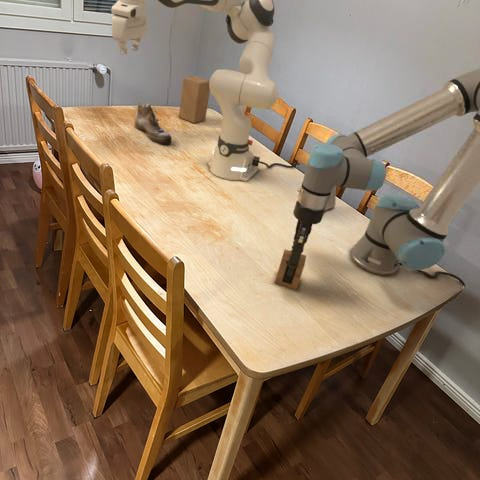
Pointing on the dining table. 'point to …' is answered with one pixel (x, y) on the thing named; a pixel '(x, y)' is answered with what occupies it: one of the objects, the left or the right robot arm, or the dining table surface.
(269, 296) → the dining table surface
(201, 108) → the wooden block
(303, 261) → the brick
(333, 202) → the digital clock
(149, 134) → the shoe
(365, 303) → the dining table surface
